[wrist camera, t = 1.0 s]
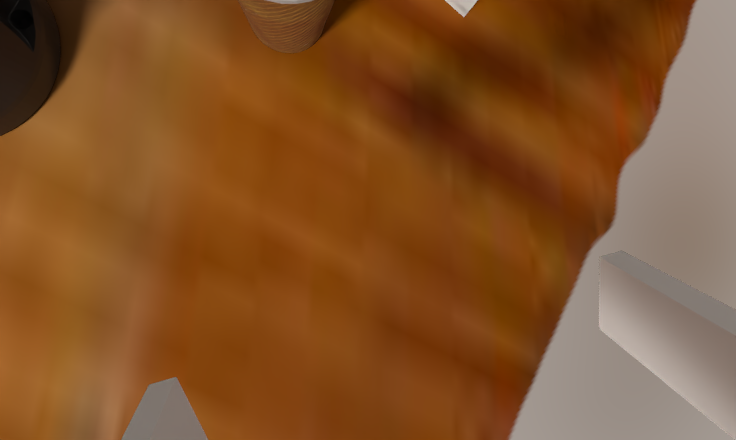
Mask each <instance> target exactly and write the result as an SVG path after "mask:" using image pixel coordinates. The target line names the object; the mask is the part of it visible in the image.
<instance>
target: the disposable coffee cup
mask: <svg viewBox="0 0 736 440" xmlns="http://www.w3.org/2000/svg"><path fill="white" fill-rule="evenodd" d="M334 1H335V0H238V2H239V4H240V5H241V8H242V10H243V11H244V14H245V15H246V18H247V19H248V21H249V23H250V25H251V27H252V29H253V31H254V33H255V34H256V36H257V37H258V38H259V39H260V40H261V41H262V42H263V43H264V44H265V45H267V46H268V47H270V48H272V49H274V50H276V51H279V52H284V53H296V52H301V51H303V50H306V49H308V48H309V47H311V46H312V45H313V44H314V43H315V42H316V41H317V40H318V39H319V37H320V36H321V34H322V31H323V28H324V26H325V23H326V21H327V18H328V16H329V14H330V11H331V9H332V6H333V4H334Z"/></svg>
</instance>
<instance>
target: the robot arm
mask: <svg viewBox="0 0 736 440" xmlns="http://www.w3.org/2000/svg"><path fill="white" fill-rule="evenodd" d="M59 63H60V37H59V31H58V27H57V24H56V21H55V18H54V15H53V13H52V10H51V8H50V7H49V5H48V3H47V1H46V0H0V135H3V134H5V133H7V132H9V131H10V130H12V129H14V128H16V127H17V126H19V125H20V124H22V123H23V122H24V121H25V120H27V119H28V118H29V117H30V116H31V115H32V114H33V113H34V112H35V111H36V110H37V109H38V108H39V107H40V106H41V104H42V103H43V102H44V100H45V99H46V97H47V96H48V94H49V92H50V91H51V89H52V86H53V84H54V82H55V79H56V76H57V73H58V69H59ZM599 329H600V330H601V331H603V332H604V333H605V334H606V335H607V336H609V337H610V338H611V339H613V340H614V341H615V342H616V343H617V344H618V345H620V346H621V347H622V348H623V349H625V350H626V351H627V352H628V353H629V354H631V355H632V356H633V357H634V358H635V359H637V360H638V361H639V362H640V363H642V364H643V365H644V366H645V367H646V368H648V369H649V370H650V371H651V372H653V373H654V374H655V375H656V376H657V377H659V378H660V379H661V380H662V381H663V382H665V383H666V384H667V385H668V386H670V387H671V388H672V389H673V390H675V391H676V392H677V393H678V394H679V395H681V396H682V397H683V398H684V399H685V400H687V401H688V402H689V403H690V404H691V405H693V406H694V407H695V408H696V409H698V410H699V411H700V412H701V413H703V414H704V415H705V416H706V417H707V418H709V419H710V420H711V421H712V422H713V423H715V424H716V425H717V426H718V427H720V428H721V429H722V430H723V431H724V432H726V433H727V434H728V435H729V436H731V437H732V438H733V439H734V440H736V309H733V308H732V307H730V306H728V305H726V304H724V303H722V302H720V301H718V300H716V299H714V298H712V297H711V296H708V295H706V294H705V293H703V292H701V291H699V290H697V289H695V288H693V287H691V286H689V285H687V284H685V283H684V282H682V281H680V280H678V279H676V278H674V277H672V276H670V275H668V274H666V273H664V272H662V271H660V270H659V269H656V268H655V267H653V266H651V265H649V264H647V263H645V262H643V261H641V260H639V259H637V258H635V257H633V256H631V255H629V254H628V253H626V252H624V251H618V252H615V253H611V254H608V255H604V256H601V257H599ZM121 440H208V438H207V437H206V435H205V433H204V431H203V429H202V427H201V425H200V423H199V421H198V419H197V417H196V415H195V413H194V411H193V409H192V407H191V405H190V403H189V401H188V399H187V397H186V395H185V393H184V391H183V389H182V387H181V385H180V383H179V381H178V379H177V377H174V378H171V379H167V380H164V381H160V382H157V383H153V384H150V385H149V386H148V388H147V390H146V392H145V394H144V396H143V398H142V400H141V402H140V404H139V406H138V408H137V410H136V412H135V414H134V415H133V417H132V419H131V421H130V423H129V425H128V427H127V429H126V431H125V433H124V435H123V437H122V439H121Z"/></svg>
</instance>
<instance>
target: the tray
mask: <svg viewBox="0 0 736 440" xmlns="http://www.w3.org/2000/svg"><path fill="white" fill-rule="evenodd" d="M445 1H446V2H447V3H448V4H450V5H451V6H452V7H453V8H454V9H455V10H456V11H457V12H459V13H460V14H461V15H462V16H463V17H465V15H466V14H467V13H468V12H469V10H470V9H471V8H472V7H473V6H474V4H475V3H476V2H477V1H478V0H445Z"/></svg>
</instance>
